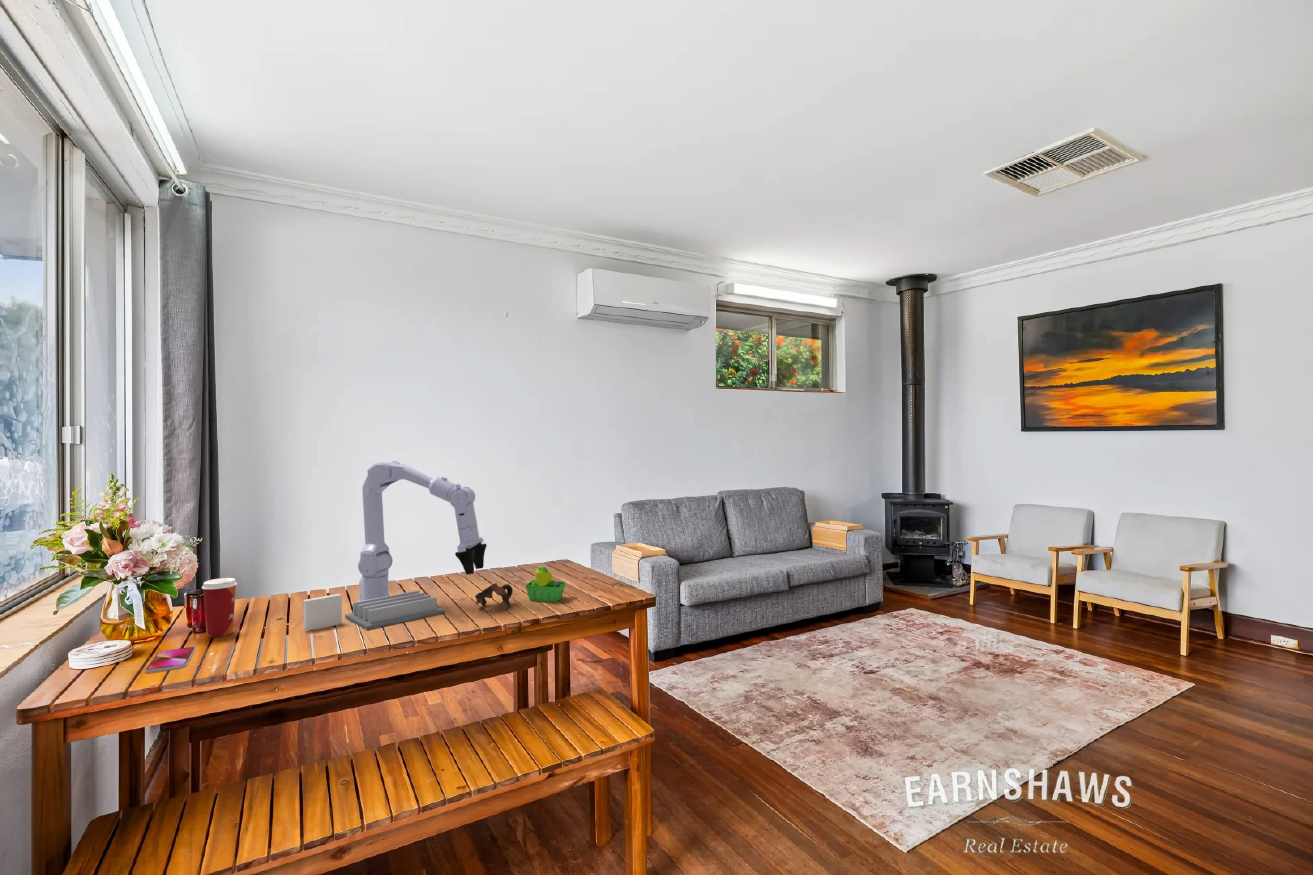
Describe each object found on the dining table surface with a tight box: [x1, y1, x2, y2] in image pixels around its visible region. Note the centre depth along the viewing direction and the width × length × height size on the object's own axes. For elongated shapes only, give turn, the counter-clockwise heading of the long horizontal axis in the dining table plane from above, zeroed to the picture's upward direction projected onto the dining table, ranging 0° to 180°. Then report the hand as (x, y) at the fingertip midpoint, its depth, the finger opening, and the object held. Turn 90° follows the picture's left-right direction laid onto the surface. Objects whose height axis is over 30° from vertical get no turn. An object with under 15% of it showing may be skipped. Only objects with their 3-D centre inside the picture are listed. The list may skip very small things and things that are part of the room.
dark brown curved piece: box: [474, 582, 513, 612], centre depth 187 cm, size 12×10×8 cm
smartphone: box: [144, 646, 196, 674], centre depth 144 cm, size 7×1×15 cm
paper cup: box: [201, 577, 238, 638], centre depth 163 cm, size 8×8×14 cm
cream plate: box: [302, 593, 343, 632], centre depth 169 cm, size 2×9×8 cm, turn 135°
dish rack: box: [344, 590, 446, 631], centre depth 179 cm, size 16×22×4 cm
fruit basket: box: [524, 565, 567, 603], centre depth 195 cm, size 11×9×11 cm
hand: (475, 571), depth 188 cm, fingers open, 7 cm apart
